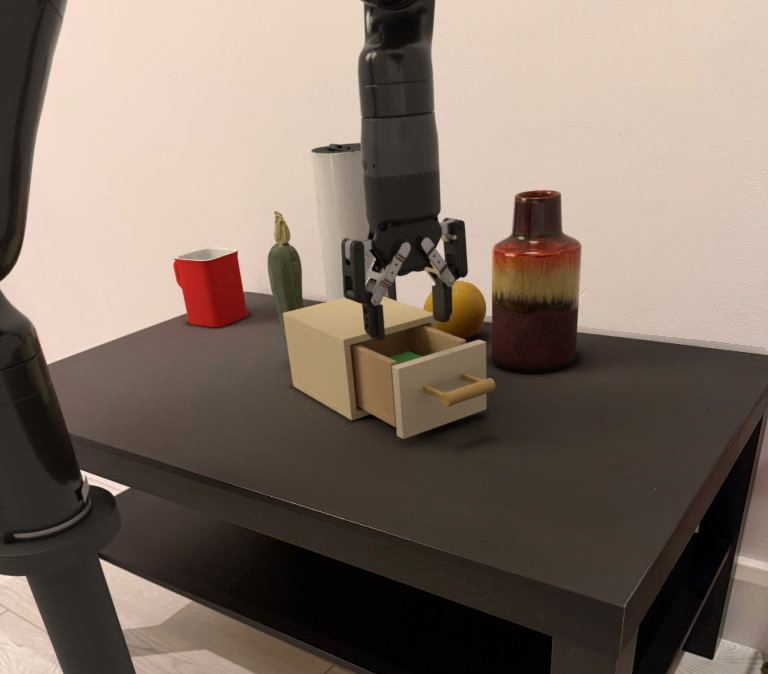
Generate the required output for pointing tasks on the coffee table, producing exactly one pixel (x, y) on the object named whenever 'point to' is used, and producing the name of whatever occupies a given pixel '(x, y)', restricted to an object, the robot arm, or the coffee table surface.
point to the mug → (211, 286)
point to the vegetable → (284, 272)
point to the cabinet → (338, 347)
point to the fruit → (462, 310)
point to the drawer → (420, 379)
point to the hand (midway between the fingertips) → (410, 329)
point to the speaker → (340, 210)
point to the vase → (535, 288)
